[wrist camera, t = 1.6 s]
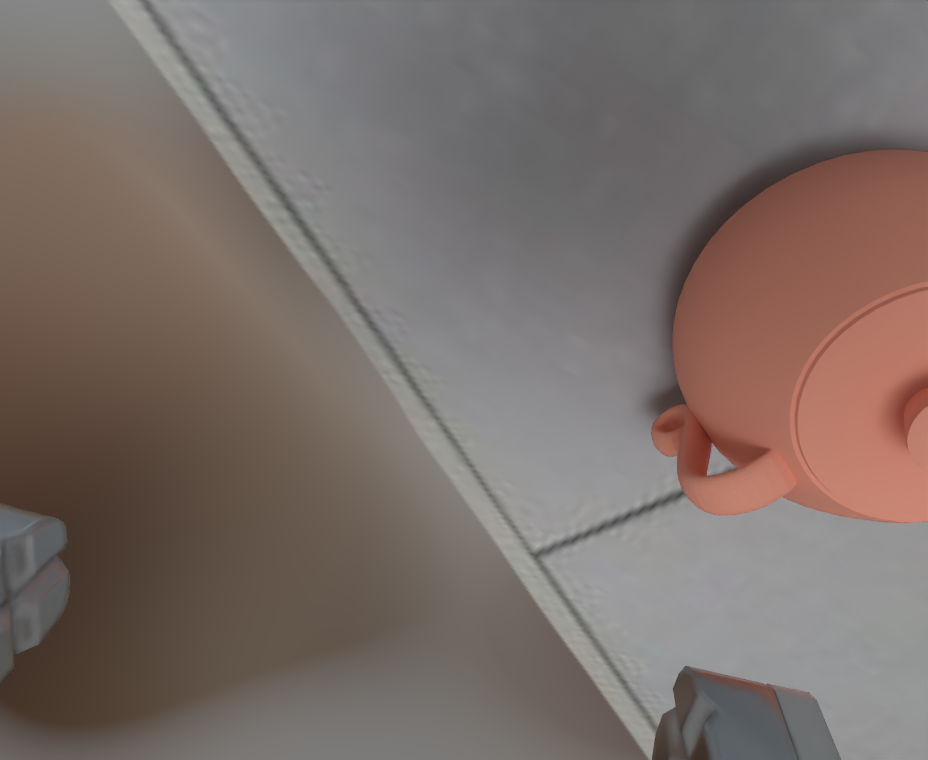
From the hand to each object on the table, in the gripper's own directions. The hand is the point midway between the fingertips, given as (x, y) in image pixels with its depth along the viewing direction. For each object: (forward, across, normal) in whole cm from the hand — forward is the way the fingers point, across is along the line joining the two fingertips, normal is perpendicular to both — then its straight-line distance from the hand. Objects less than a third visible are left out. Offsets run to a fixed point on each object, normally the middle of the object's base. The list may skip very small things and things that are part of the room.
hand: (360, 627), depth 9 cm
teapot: (+28, -16, 0) cm, 32 cm away
